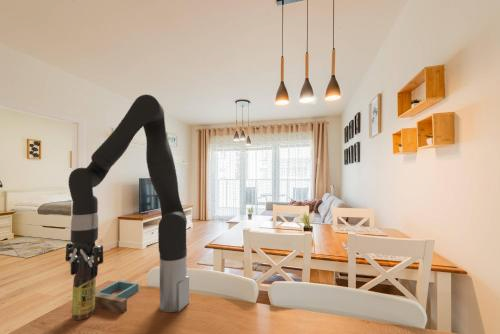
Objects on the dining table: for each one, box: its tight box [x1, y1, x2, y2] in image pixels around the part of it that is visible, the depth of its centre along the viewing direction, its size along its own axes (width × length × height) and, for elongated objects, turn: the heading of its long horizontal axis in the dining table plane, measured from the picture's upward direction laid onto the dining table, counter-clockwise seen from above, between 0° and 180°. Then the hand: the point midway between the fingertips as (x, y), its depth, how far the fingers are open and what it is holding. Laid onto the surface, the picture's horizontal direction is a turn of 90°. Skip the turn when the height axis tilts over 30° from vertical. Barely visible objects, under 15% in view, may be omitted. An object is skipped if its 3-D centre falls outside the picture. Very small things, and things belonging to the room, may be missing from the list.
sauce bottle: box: [71, 255, 97, 321], centre depth 78 cm, size 7×6×20 cm
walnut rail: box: [94, 293, 128, 314], centre depth 83 cm, size 19×2×4 cm, turn 72°
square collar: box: [95, 280, 139, 300], centre depth 90 cm, size 10×11×3 cm
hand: (83, 275), depth 78 cm, fingers open, 8 cm apart
